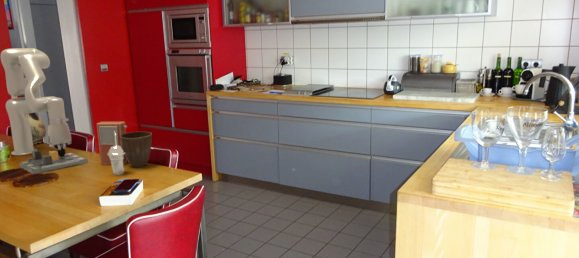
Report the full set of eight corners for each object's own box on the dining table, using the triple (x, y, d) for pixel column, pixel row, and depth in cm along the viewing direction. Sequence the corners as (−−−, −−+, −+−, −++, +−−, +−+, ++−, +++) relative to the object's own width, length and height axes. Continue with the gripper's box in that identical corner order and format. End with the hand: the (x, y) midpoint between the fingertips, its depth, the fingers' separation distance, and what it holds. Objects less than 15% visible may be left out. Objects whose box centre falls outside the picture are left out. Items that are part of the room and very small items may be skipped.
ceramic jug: (13, 145, 270) (6, 97, 264) (34, 140, 284) (27, 94, 278) (34, 147, 265) (28, 98, 259) (55, 141, 279) (49, 94, 273)
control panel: (104, 161, 231) (131, 161, 229) (97, 164, 224) (125, 165, 223) (100, 121, 227) (127, 121, 225) (93, 123, 220) (121, 123, 218)
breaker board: (19, 166, 224) (17, 153, 222) (71, 156, 242) (70, 143, 241) (33, 174, 209) (31, 160, 208) (88, 162, 228) (86, 150, 226)
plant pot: (144, 170, 213) (142, 138, 210) (117, 169, 216) (114, 137, 213) (159, 162, 227) (157, 132, 224) (133, 160, 230) (130, 131, 227)
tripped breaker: (47, 160, 225) (46, 151, 224) (58, 158, 229) (56, 149, 228) (50, 162, 223) (49, 153, 222) (60, 160, 226) (59, 151, 225)
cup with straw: (106, 176, 205) (101, 134, 201) (114, 170, 214) (110, 130, 210) (123, 176, 204) (119, 134, 200) (131, 170, 213) (127, 130, 209)
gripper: (69, 119, 232) (73, 152, 236) (39, 123, 222) (43, 158, 225) (75, 120, 227) (79, 154, 231) (44, 125, 217) (49, 160, 220)
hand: (62, 156), depth 228 cm, fingers closed
